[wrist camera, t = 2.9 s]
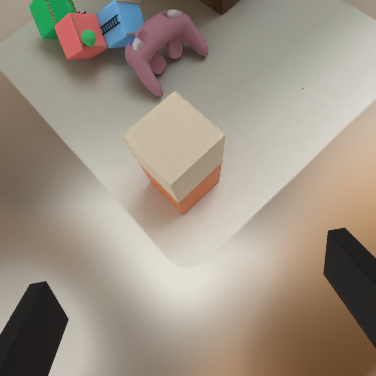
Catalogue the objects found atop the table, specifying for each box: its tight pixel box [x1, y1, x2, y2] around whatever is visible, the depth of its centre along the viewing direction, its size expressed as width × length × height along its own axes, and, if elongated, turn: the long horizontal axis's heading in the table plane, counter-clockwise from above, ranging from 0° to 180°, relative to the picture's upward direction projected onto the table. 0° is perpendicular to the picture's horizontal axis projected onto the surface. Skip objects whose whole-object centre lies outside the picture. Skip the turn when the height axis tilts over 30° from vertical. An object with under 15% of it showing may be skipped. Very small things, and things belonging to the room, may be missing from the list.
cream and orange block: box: [122, 91, 225, 215], centre depth 25 cm, size 6×6×11 cm
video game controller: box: [125, 9, 208, 97], centre depth 33 cm, size 10×5×7 cm, turn 136°
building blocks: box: [29, 0, 144, 60], centre depth 34 cm, size 8×8×12 cm
